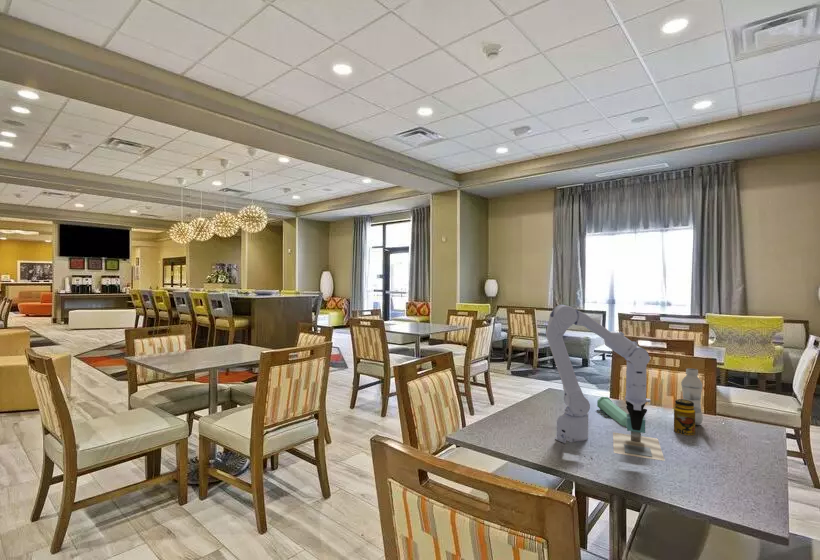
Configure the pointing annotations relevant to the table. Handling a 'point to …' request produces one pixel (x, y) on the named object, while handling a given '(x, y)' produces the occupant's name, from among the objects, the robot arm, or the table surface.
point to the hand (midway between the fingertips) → (635, 427)
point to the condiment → (684, 417)
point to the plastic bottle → (693, 392)
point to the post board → (637, 445)
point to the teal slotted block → (629, 426)
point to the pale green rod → (612, 410)
